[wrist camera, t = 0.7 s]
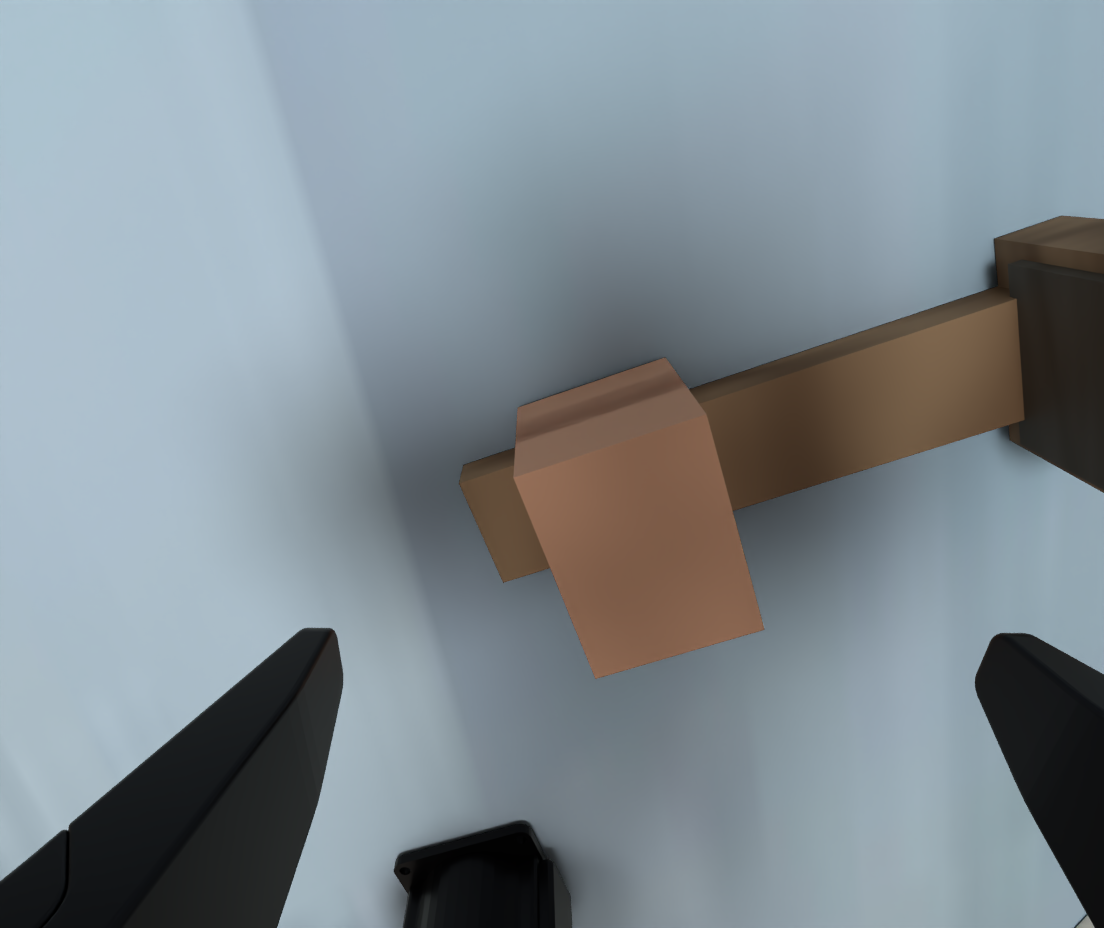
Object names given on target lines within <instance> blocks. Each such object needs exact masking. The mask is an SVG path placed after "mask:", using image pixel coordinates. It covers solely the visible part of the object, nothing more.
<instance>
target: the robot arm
mask: <svg viewBox="0 0 1104 928" xmlns="http://www.w3.org/2000/svg"><path fill="white" fill-rule="evenodd" d="M342 689H343V669H342V663H341V657H340V651H339V645H338V639H337V635H336V633H335V631H334V630H333V629H331V628H304V629H302V630H300V631H299V632H297V633H296V634H295V635H294V636H293V637H292V638H290V639H289V640H288V641H287V642H286V643H284V644H283V645H282V646H281V647H280V648H278V649H277V650H276V651H275V652H274V653H272V654H271V655H270V656H269V657H268V658H267V659H265V660H264V661H263V662H262V663H261V664H259V665H258V666H257V667H256V668H255V669H253V670H252V671H251V672H250V673H249V674H248V675H246V676H245V677H244V678H243V679H242V680H240V681H239V682H238V683H237V684H236V685H234V686H233V687H232V688H231V689H230V690H228V691H227V692H226V693H225V694H224V695H223V696H221V697H220V698H219V699H218V700H217V701H215V702H214V703H213V704H212V705H211V706H209V707H208V708H207V709H206V710H205V711H204V712H202V713H201V714H200V715H199V716H198V717H196V718H195V719H194V720H193V721H192V722H190V723H189V724H188V725H187V726H186V727H184V728H183V729H182V730H181V731H180V732H179V733H177V734H176V735H175V736H174V737H173V738H171V739H170V740H169V741H168V742H167V743H165V744H164V745H163V746H162V747H161V748H160V749H158V750H157V751H156V752H155V753H154V754H152V755H151V756H150V757H149V758H148V759H146V760H145V761H144V762H143V763H142V764H140V765H139V766H138V767H137V768H136V769H135V770H133V771H132V772H131V773H130V774H129V775H127V776H126V777H125V778H124V779H123V780H121V781H120V782H119V783H118V784H117V785H116V786H114V787H113V788H112V789H111V790H110V791H108V792H107V793H106V794H105V795H104V796H102V797H101V798H100V799H99V800H98V801H96V802H95V803H94V804H93V805H92V806H91V807H89V808H88V809H87V810H86V811H85V812H83V813H82V814H81V815H80V816H79V817H77V818H76V819H75V820H74V821H73V822H72V823H70V825H69V829H68V830H62V831H60V832H59V833H58V834H57V835H56V836H55V837H53V838H52V839H51V840H50V841H49V842H47V843H46V844H45V845H44V846H43V847H41V848H40V849H39V850H38V851H37V852H35V853H34V854H33V855H32V856H31V857H30V858H28V859H27V860H26V861H25V862H23V863H22V864H21V865H20V866H18V867H17V868H16V869H15V870H14V871H12V872H11V873H10V874H9V875H7V876H6V877H5V878H4V879H2V880H1V881H0V928H277V926H278V923H279V920H280V917H281V914H282V911H283V908H284V905H285V902H286V899H287V896H288V893H289V890H290V887H291V884H292V881H293V878H294V875H295V871H296V868H297V865H298V862H299V859H300V856H301V853H302V850H303V847H304V844H305V841H306V838H307V835H308V832H309V829H310V826H311V823H312V820H313V817H314V814H315V810H316V807H317V804H318V800H319V796H320V792H321V788H322V783H323V779H324V774H325V770H326V765H327V760H328V755H329V751H330V746H331V741H332V737H333V732H334V727H335V723H336V718H337V713H338V708H339V704H340V699H341V694H342ZM975 689H976V693H977V696H978V698H979V701H980V703H981V705H982V707H983V710H984V712H985V714H986V716H987V719H988V721H989V723H990V725H991V728H992V730H993V732H994V735H995V737H996V739H997V741H998V744H999V746H1000V748H1001V750H1002V753H1003V755H1004V757H1005V759H1006V762H1007V764H1008V766H1009V768H1010V771H1011V773H1012V775H1013V778H1014V780H1015V782H1016V784H1017V786H1018V788H1019V791H1020V793H1021V795H1022V797H1023V799H1024V801H1025V803H1026V805H1027V807H1028V809H1029V811H1030V812H1031V814H1032V816H1033V818H1034V820H1035V822H1036V824H1037V825H1038V827H1039V829H1040V831H1041V833H1042V834H1043V836H1044V838H1045V840H1046V842H1047V843H1048V845H1049V847H1050V849H1051V850H1052V852H1053V854H1054V856H1055V858H1056V859H1057V861H1058V863H1059V865H1060V867H1061V868H1062V870H1063V872H1064V874H1065V876H1066V877H1067V879H1068V881H1069V883H1070V884H1071V886H1072V888H1073V890H1074V892H1075V893H1076V895H1077V897H1078V899H1079V901H1080V902H1081V904H1082V906H1083V908H1084V910H1085V911H1086V913H1087V915H1088V917H1089V918H1090V920H1091V922H1092V924H1093V926H1094V927H1095V928H1104V674H1102V673H1100V672H1098V671H1097V670H1095V669H1093V668H1091V667H1089V666H1087V665H1086V664H1084V663H1082V662H1080V661H1078V660H1077V659H1075V658H1073V657H1071V656H1069V655H1068V654H1066V653H1064V652H1062V651H1060V650H1058V649H1057V648H1055V647H1053V646H1051V645H1049V644H1048V643H1046V642H1044V641H1042V640H1040V639H1039V638H1037V637H1035V636H1033V635H1030V634H1026V633H1000V634H997V635H996V636H994V637H993V638H992V639H991V641H990V643H989V646H988V648H987V650H986V653H985V655H984V657H983V660H982V662H981V664H980V667H979V669H978V671H977V674H976V677H975ZM394 873H395V875H396V876H397V878H398V879H399V881H400V882H401V884H402V885H403V887H404V889H405V890H406V892H407V893H408V900H407V905H406V911H405V917H404V923H403V928H572V912H571V896H570V893H569V891H568V889H567V887H566V885H565V883H564V881H563V879H562V877H561V876H560V874H559V872H558V870H557V868H556V866H555V864H554V862H552V861H551V860H550V859H549V858H548V859H547V858H546V856H545V854H544V852H543V851H542V849H541V847H540V845H539V843H538V841H537V839H536V837H535V835H534V833H533V831H532V829H531V828H530V827H529V826H527V825H524V824H517V825H513V826H510V827H506V828H502V829H498V830H495V831H491V832H487V833H484V834H480V835H476V836H473V837H469V838H465V839H462V840H458V841H454V842H450V843H447V844H443V845H439V846H436V847H432V848H428V849H425V850H421V851H417V852H414V853H410V854H406V855H402V856H400V857H398V858H397V859H396V862H395V867H394Z"/></svg>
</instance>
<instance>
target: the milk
mask: <svg viewBox="0 0 1104 928" xmlns="http://www.w3.org/2000/svg"><path fill="white" fill-rule="evenodd" d="M1076 928H1095V927H1094V926H1093V924H1092V922H1091V920H1090V918H1089V917H1088V915H1087V916H1086V917H1085V918H1084V919H1083V920H1082V921H1081V923H1080V924H1079V925H1078V926H1077V927H1076Z"/></svg>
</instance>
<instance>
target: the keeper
mask: <svg viewBox="0 0 1104 928" xmlns="http://www.w3.org/2000/svg"><path fill="white" fill-rule="evenodd" d="M513 478H514V481H515V483H516V485H517V488H518V490H519V493H520V495H521V498H522V500H523V503H524V505H525V508H526V510H527V512H528V515H529V517H530V520H531V522H532V525H533V527H534V530H535V532H536V534H537V537H538V539H539V542H540V544H541V547H542V549H543V552H544V554H545V556H546V559H547V561H548V564H549V566H550V569H551V571H552V574H553V576H554V578H555V581H556V583H557V586H558V588H559V591H560V593H561V596H562V598H563V600H564V603H565V605H566V608H567V610H568V613H569V615H570V618H571V620H572V623H573V625H574V627H575V630H576V632H577V635H578V637H579V640H580V642H581V645H582V647H583V649H584V652H585V654H586V657H587V659H588V662H589V664H590V667H591V669H592V671H593V674H594V676H595V679H597V678H600V677H604V676H607V675H611V674H614V673H617V672H621V671H624V670H628V669H631V668H635V667H638V666H641V665H645V664H648V663H652V662H655V661H659V660H662V659H665V658H669V657H672V656H676V655H679V654H683V653H686V652H690V651H693V650H696V649H700V648H703V647H707V646H710V645H714V644H717V643H720V642H724V641H727V640H731V639H734V638H738V637H741V636H744V635H748V634H751V633H755V632H758V631H762V630H764V626H763V622H762V619H761V615H760V611H759V607H758V604H757V600H756V596H755V592H754V589H753V585H752V581H751V578H750V574H749V570H748V566H747V563H746V559H745V555H744V552H743V548H742V544H741V540H740V537H739V533H738V529H737V525H736V522H735V518H734V514H733V511H732V507H731V503H730V499H729V496H728V492H727V488H726V485H725V481H724V477H723V473H722V470H721V466H720V462H719V459H718V455H717V451H716V447H715V444H714V440H713V436H712V432H711V429H710V425H709V421H708V418H707V414H706V413H705V411H704V410H703V409H702V407H701V406H700V404H699V403H698V402H697V400H696V399H695V397H694V396H693V395H692V393H691V392H690V391H689V389H688V388H687V386H686V385H685V384H684V382H683V381H682V380H681V378H680V377H679V375H678V374H677V373H676V371H675V370H674V368H673V367H672V366H671V364H670V363H669V362H668V360H667V359H666V357H665V358H662V359H659V360H656V361H653V362H650V363H647V364H644V365H641V366H638V367H635V368H632V369H630V370H627V371H624V372H621V373H618V374H615V375H612V376H609V377H606V378H603V379H600V380H597V381H594V382H591V383H588V384H586V385H583V386H580V387H577V388H574V389H571V390H568V391H565V392H562V393H559V394H556V395H553V396H550V397H547V398H544V399H542V400H539V401H536V402H533V403H530V404H527V405H524V406H521V407H518V410H517V426H516V443H515V459H514V476H513Z"/></svg>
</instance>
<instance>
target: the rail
mask: <svg viewBox="0 0 1104 928" xmlns="http://www.w3.org/2000/svg"><path fill="white" fill-rule="evenodd" d="M994 241H995V254H996V267H997V280H998V286H997V287H994V288H991V289H988V290H985V291H982V292H979V293H976V294H973V295H970V296H967V297H964V298H961V299H958V300H955V301H952V302H949V303H946V304H943V305H940V306H937V307H934V308H931V309H928V310H925V311H922V312H919V313H916V314H913V315H910V316H907V317H904V318H901V319H898V320H895V321H892V322H889V323H886V324H884V325H881V326H878V327H875V328H872V329H869V330H866V331H863V332H860V333H857V334H854V335H851V336H848V337H845V338H842V339H839V340H836V341H833V342H830V343H827V344H824V345H821V346H818V347H815V348H812V349H809V350H806V351H803V352H800V353H797V354H794V355H791V356H788V357H785V358H782V359H779V360H776V361H773V362H770V363H767V364H764V365H761V366H758V367H755V368H752V369H749V370H746V371H743V372H740V373H737V374H734V375H731V376H728V377H725V378H722V379H719V380H716V381H713V382H710V383H707V384H704V385H701V386H698V387H695V388H692V389H689V391H690V392H691V393H692V395H693V396H694V397H695V399H696V400H697V402H698V403H699V404H700V406H701V407H702V409H703V410H704V411H705V413H706V414H707V418H708V421H709V425H710V429H711V432H712V436H713V440H714V444H715V447H716V451H717V455H718V459H719V462H720V466H721V470H722V473H723V477H724V481H725V485H726V488H727V492H728V496H729V499H730V503H731V507H732V511H734V510H738V509H741V508H744V507H747V506H750V505H754V504H757V503H760V502H763V501H766V500H770V499H773V498H776V497H779V496H782V495H786V494H789V493H792V492H795V491H798V490H802V489H805V488H808V487H811V486H814V485H818V484H821V483H824V482H827V481H831V480H834V479H837V478H840V477H843V476H847V475H850V474H853V473H856V472H859V471H863V470H866V469H869V468H872V467H875V466H879V465H882V464H885V463H888V462H891V461H895V460H898V459H901V458H904V457H907V456H911V455H914V454H917V453H920V452H923V451H927V450H930V449H933V448H936V447H939V446H943V445H946V444H949V443H952V442H955V441H959V440H962V439H965V438H968V437H971V436H975V435H978V434H981V433H984V432H987V431H991V430H994V429H997V428H1000V427H1003V426H1007V425H1009V437H1010V441H1012V442H1014V443H1016V444H1017V445H1019V446H1021V447H1023V448H1025V449H1026V450H1028V451H1030V452H1032V453H1033V454H1035V455H1037V456H1039V457H1041V458H1042V459H1044V460H1046V461H1048V462H1050V463H1051V464H1053V465H1055V466H1057V467H1058V468H1060V469H1062V470H1064V471H1066V472H1067V473H1069V474H1071V475H1073V476H1075V477H1076V478H1078V479H1080V480H1082V481H1084V482H1085V483H1087V484H1089V485H1091V486H1092V487H1094V488H1096V489H1098V490H1100V491H1101V492H1103V493H1104V219H1096V218H1083V217H1071V216H1059V217H1056V218H1054V219H1051V220H1048V221H1045V222H1042V223H1039V224H1036V225H1033V226H1030V227H1027V228H1024V229H1021V230H1018V231H1016V232H1013V233H1010V234H1007V235H1004V236H1001V237H998V238H995V239H994ZM514 459H515V448H513V449H510V450H507V451H504V452H501V453H498V454H495V455H492V456H489V457H486V458H483V459H480V460H477V461H474V462H471V463H468V464H465V465H463V469H462V473H461V477H460V481H459V485H460V487H461V489H462V491H463V494H464V496H465V498H466V500H467V503H468V505H469V507H470V509H471V512H472V514H473V516H474V518H475V521H476V523H477V525H478V527H479V530H480V532H481V534H482V536H483V538H484V541H485V543H486V545H487V547H488V550H489V552H490V554H491V556H492V559H493V561H494V563H495V565H496V568H497V570H498V572H499V574H500V577H501V579H502V581H503V583H504V582H507V581H510V580H513V579H517V578H520V577H523V576H526V575H529V574H533V573H536V572H539V571H542V570H545V569H549V568H550V566H549V564H548V561H547V559H546V556H545V554H544V552H543V549H542V547H541V544H540V542H539V539H538V537H537V534H536V532H535V530H534V527H533V525H532V522H531V520H530V517H529V515H528V512H527V510H526V508H525V505H524V503H523V500H522V498H521V495H520V493H519V490H518V488H517V485H516V483H515V481H514V478H513V476H514Z"/></svg>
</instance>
